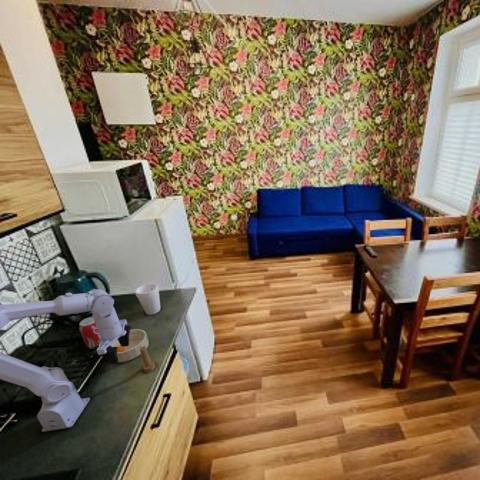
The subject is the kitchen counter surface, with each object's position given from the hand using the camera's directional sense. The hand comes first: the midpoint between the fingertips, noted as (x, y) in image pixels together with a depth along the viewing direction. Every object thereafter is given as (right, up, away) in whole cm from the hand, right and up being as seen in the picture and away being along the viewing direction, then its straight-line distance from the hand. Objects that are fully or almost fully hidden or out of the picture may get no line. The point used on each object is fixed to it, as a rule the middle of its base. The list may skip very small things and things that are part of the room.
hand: (120, 353), depth 94 cm
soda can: (-23, -4, +18) cm, 30 cm away
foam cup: (-13, +5, +39) cm, 41 cm away
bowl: (-7, -5, +15) cm, 17 cm away
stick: (+6, -8, +7) cm, 12 cm away
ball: (-10, -4, +13) cm, 16 cm away
